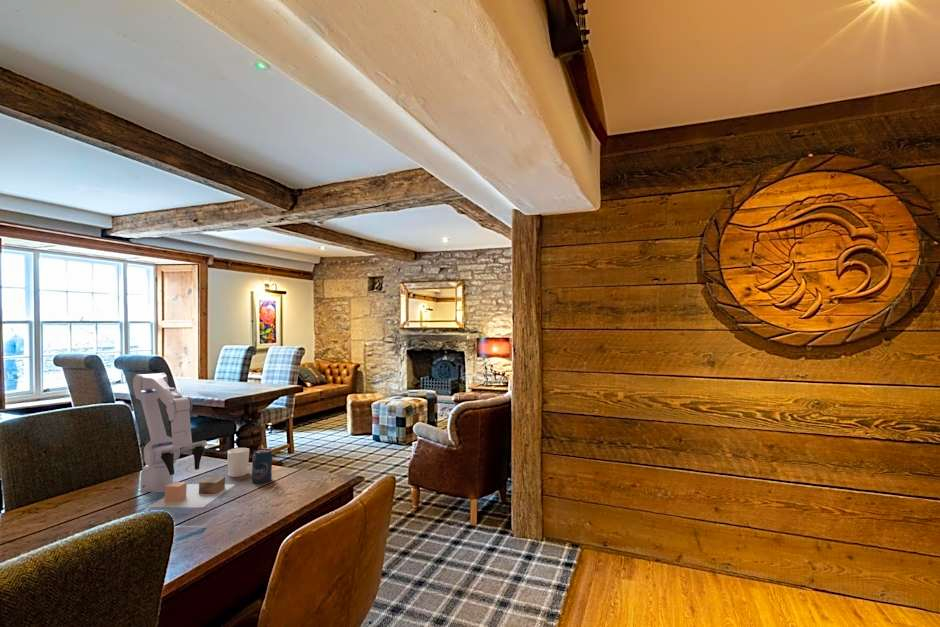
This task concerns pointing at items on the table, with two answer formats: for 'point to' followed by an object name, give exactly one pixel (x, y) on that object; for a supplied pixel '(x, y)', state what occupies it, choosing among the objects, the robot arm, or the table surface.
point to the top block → (175, 491)
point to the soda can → (262, 466)
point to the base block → (211, 485)
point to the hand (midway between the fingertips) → (184, 472)
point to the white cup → (237, 461)
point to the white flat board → (192, 498)
